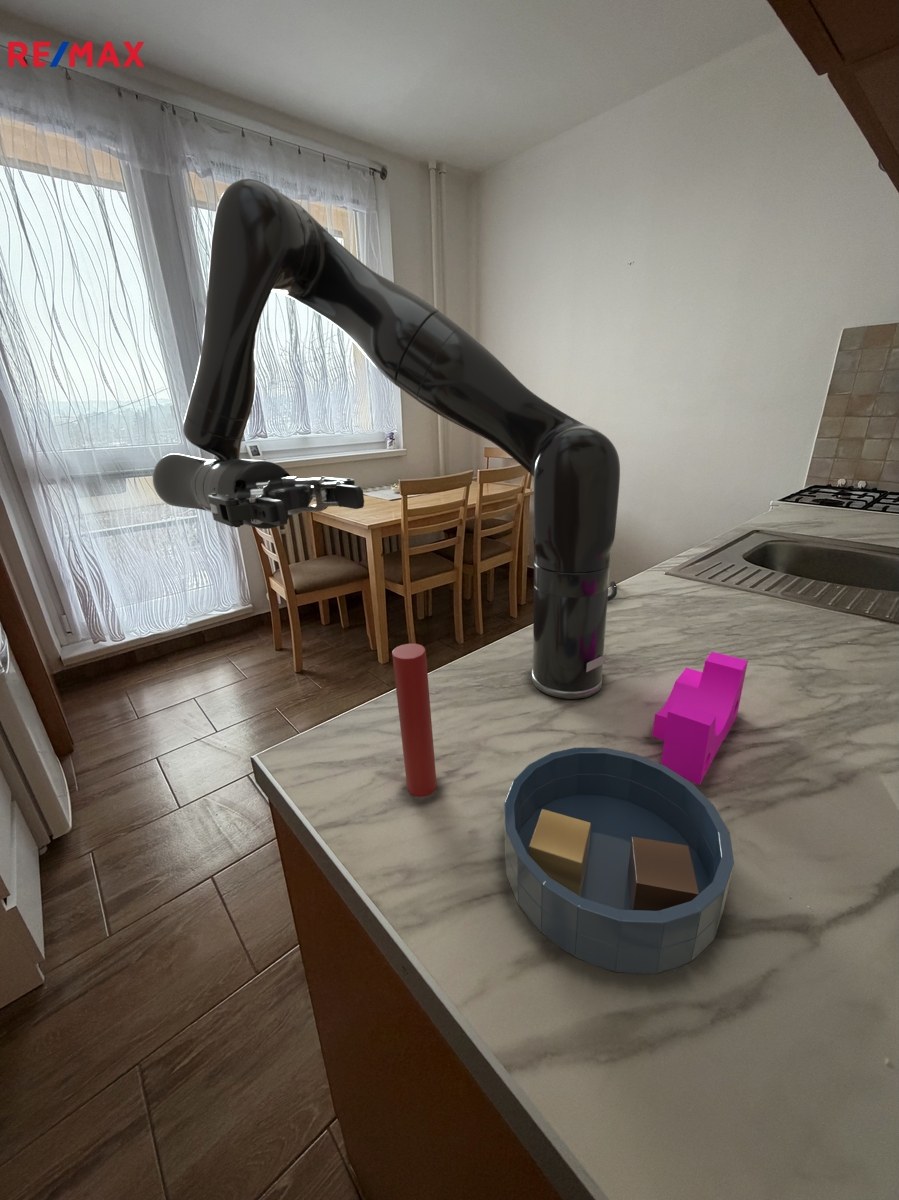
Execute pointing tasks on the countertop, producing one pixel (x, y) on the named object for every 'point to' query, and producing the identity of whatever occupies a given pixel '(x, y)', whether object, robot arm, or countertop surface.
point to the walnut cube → (660, 875)
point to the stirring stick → (415, 718)
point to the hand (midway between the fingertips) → (324, 505)
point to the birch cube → (561, 848)
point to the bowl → (617, 858)
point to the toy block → (700, 715)
